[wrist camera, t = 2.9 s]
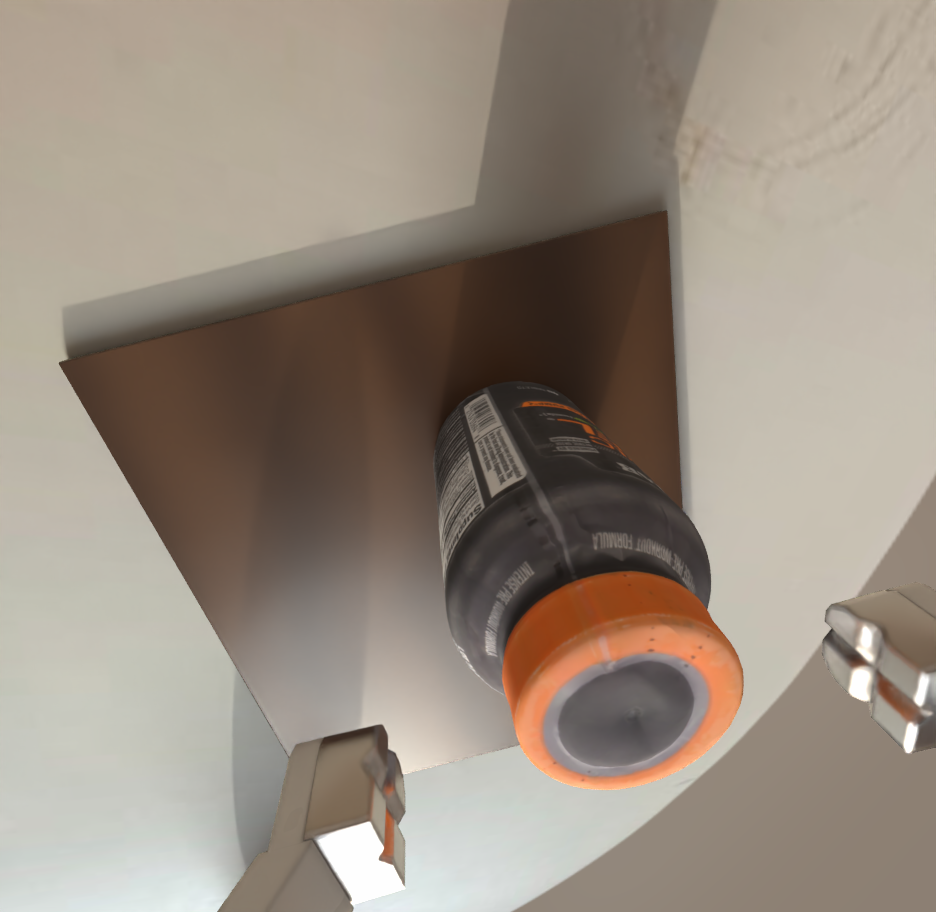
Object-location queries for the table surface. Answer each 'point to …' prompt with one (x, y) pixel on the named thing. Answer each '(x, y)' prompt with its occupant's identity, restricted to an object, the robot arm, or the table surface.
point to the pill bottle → (578, 592)
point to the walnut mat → (374, 465)
